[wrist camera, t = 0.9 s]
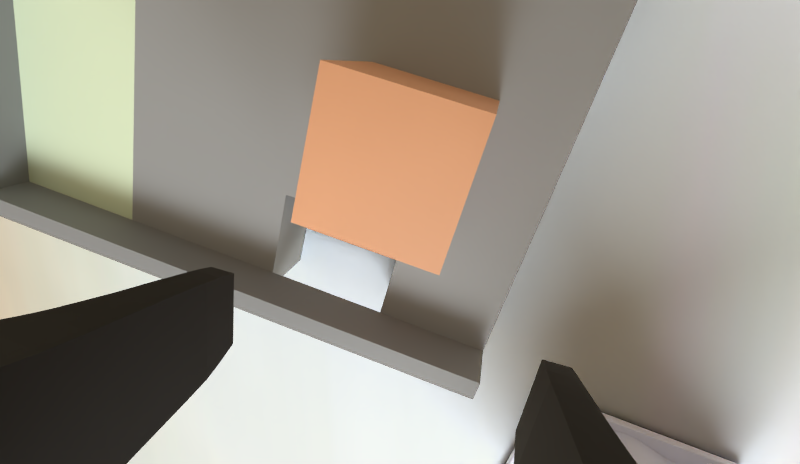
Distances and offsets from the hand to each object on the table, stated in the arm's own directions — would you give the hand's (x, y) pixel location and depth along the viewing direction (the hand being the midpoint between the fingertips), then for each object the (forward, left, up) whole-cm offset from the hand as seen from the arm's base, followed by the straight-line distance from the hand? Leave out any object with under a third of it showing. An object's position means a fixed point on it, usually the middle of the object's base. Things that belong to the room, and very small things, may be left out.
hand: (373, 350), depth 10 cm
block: (+1, -3, -7) cm, 8 cm away
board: (+7, -3, -10) cm, 13 cm away
